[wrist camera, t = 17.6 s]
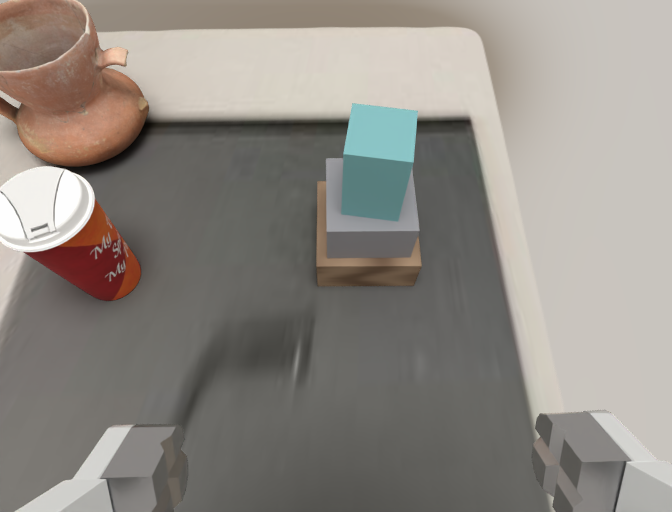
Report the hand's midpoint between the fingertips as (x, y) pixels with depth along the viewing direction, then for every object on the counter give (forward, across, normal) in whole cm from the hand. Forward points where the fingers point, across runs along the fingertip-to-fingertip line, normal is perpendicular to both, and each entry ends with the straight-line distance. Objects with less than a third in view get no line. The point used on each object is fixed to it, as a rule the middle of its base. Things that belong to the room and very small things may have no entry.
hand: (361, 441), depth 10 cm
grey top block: (+35, -3, +3) cm, 35 cm away
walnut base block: (+38, -3, +7) cm, 39 cm away
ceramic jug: (+50, +30, -6) cm, 59 cm away
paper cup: (+36, +23, +9) cm, 44 cm away
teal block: (+31, -4, 0) cm, 31 cm away
